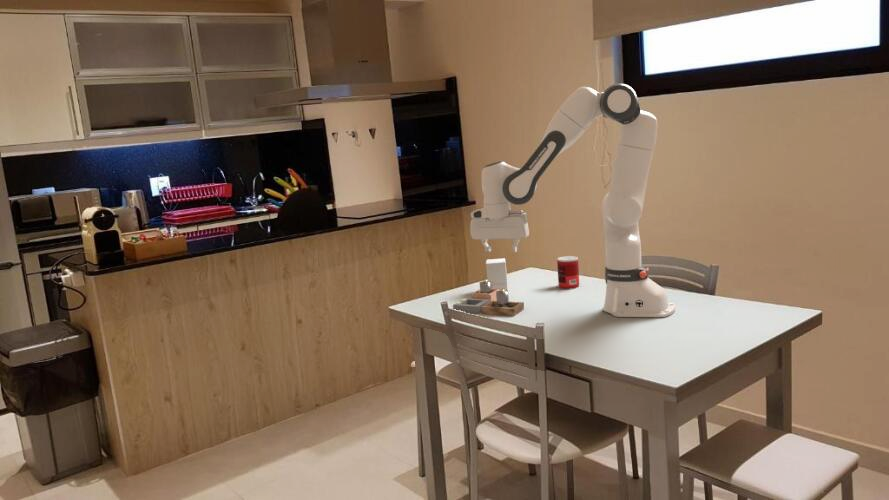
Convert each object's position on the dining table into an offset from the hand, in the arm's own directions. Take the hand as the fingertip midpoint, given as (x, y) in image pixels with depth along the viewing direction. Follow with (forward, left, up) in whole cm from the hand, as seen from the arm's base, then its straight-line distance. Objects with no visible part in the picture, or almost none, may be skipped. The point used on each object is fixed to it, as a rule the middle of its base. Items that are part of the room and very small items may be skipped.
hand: (501, 251), depth 230 cm
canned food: (-10, -36, -21) cm, 43 cm away
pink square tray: (+11, -8, -21) cm, 25 cm away
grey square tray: (+12, +2, -21) cm, 24 cm away
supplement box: (+13, -22, -21) cm, 33 cm away
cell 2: (0, +2, -20) cm, 20 cm away
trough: (0, +2, -21) cm, 21 cm away
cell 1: (+11, -8, -20) cm, 24 cm away
